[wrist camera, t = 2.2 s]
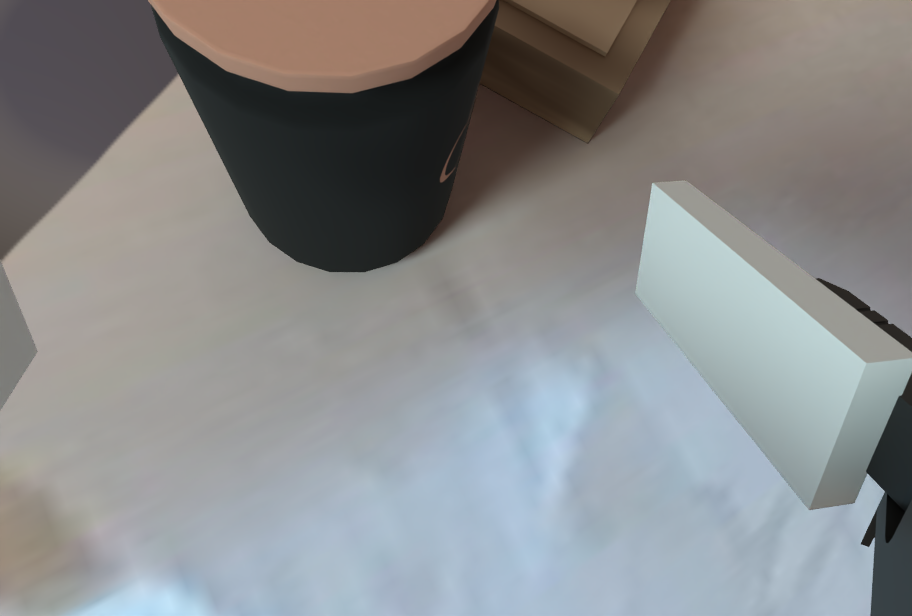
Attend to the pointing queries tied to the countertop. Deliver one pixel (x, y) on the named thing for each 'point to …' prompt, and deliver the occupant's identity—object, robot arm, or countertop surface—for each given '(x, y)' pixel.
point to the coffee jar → (335, 113)
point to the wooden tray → (568, 56)
